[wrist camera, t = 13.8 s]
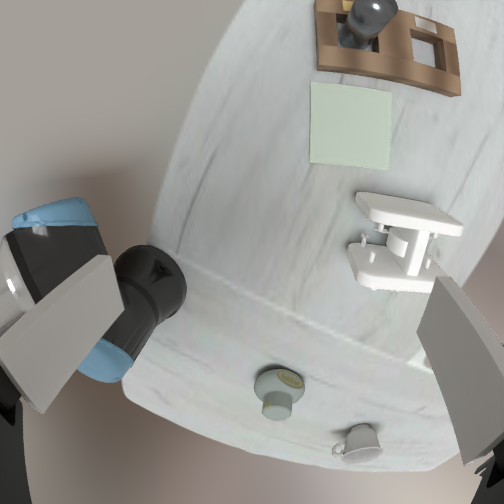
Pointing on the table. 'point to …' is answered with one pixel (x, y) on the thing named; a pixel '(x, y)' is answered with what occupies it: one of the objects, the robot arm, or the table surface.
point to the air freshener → (278, 392)
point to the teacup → (359, 445)
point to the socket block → (389, 50)
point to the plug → (366, 22)
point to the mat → (350, 126)
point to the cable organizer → (400, 243)
